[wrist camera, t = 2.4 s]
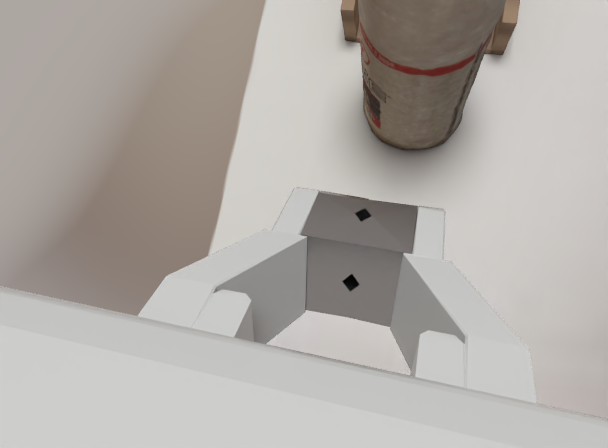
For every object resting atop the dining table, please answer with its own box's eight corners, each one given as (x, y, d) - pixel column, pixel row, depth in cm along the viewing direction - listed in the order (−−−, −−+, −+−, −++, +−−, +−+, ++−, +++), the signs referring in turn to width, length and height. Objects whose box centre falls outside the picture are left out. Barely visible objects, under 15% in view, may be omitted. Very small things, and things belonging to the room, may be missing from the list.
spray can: (372, 50, 42) (358, -171, 23) (471, 60, 40) (548, -169, 21) (354, 144, 41) (323, -4, 22) (455, 158, 39) (522, 12, 20)
